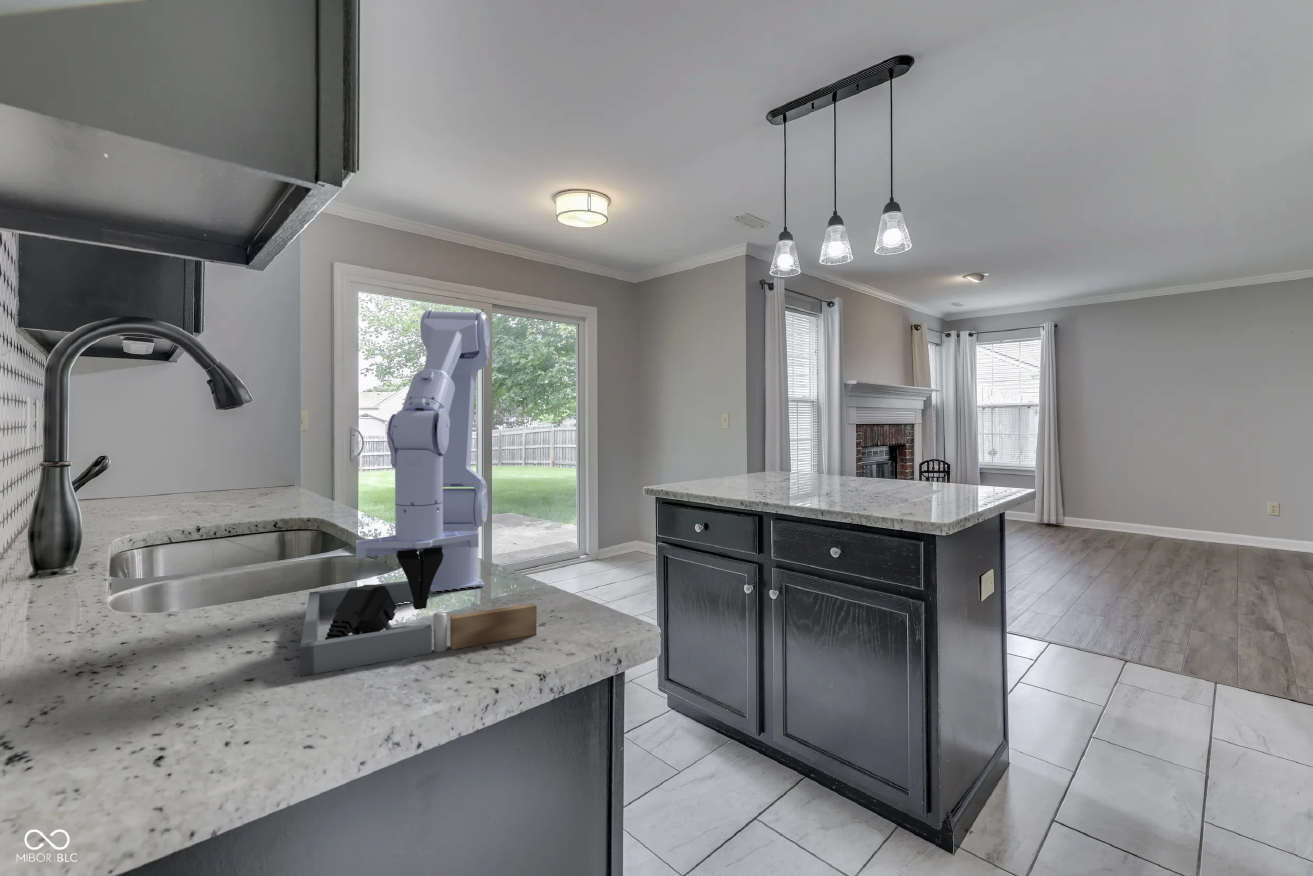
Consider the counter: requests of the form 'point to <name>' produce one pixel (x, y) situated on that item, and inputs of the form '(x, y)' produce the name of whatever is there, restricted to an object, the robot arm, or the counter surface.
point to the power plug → (363, 612)
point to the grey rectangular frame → (364, 636)
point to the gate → (492, 625)
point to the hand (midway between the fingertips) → (419, 606)
